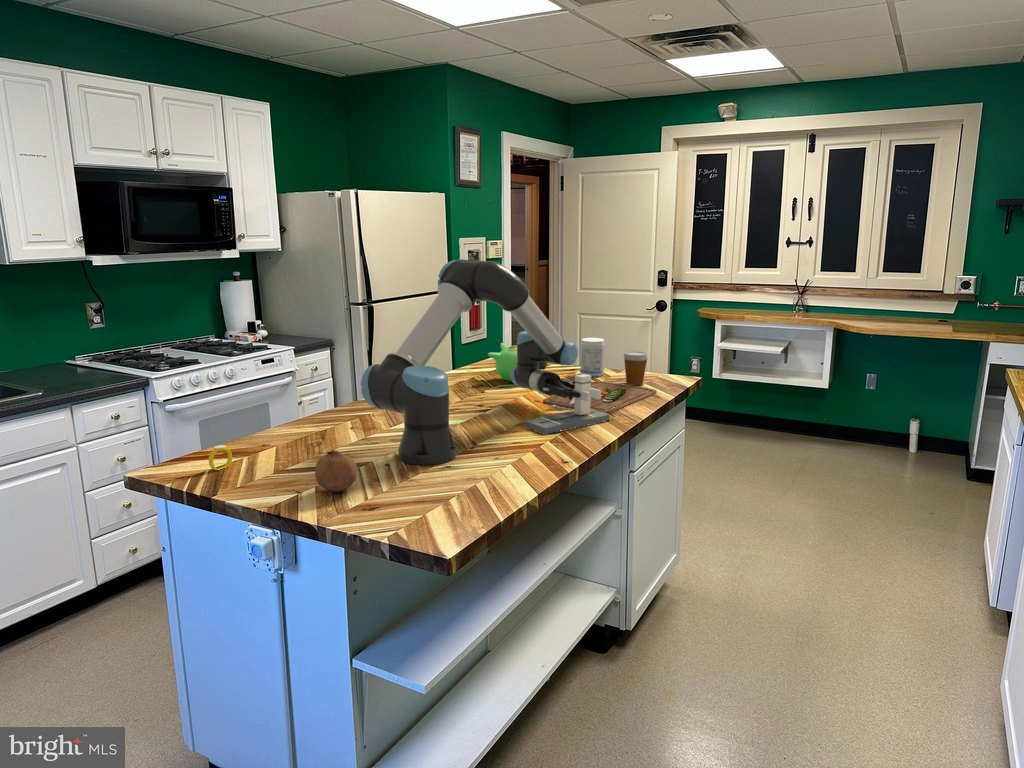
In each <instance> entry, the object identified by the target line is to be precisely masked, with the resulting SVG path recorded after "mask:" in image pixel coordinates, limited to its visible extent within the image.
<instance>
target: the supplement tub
mask: <svg viewBox="0 0 1024 768" xmlns="http://www.w3.org/2000/svg"><path fill="white" fill-rule="evenodd" d="M580 343H581V344H580V375H582V374H586V375H590V376H591V378H592V377H594V378H595V377H602V376H603V375H604V370H605V369H604V366H605V339H604V338H600V337H585V338H581V341H580Z"/></svg>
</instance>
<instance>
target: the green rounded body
mask: <svg viewBox="0 0 1024 768" xmlns="http://www.w3.org/2000/svg"><path fill="white" fill-rule="evenodd" d="M500 349H501V351H499V352H493V351H492V352H488V353H487V355H488V357H490V358H491V359H493V360H495V371H496V373H497V374H498V375H499V376H500V377H501V378H502V379H503V380H505V381H508V382H512V380H511V376H510V375H511V372H512V369H513V368H514V367H515V366H516V365H517V344H516V345H511V346H509V345H507V344H506V343H504V342H501V343H500Z"/></svg>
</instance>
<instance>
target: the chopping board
mask: <svg viewBox="0 0 1024 768" xmlns="http://www.w3.org/2000/svg"><path fill="white" fill-rule="evenodd" d="M591 388H593V389H597V390H601V399H596V398H592V397H591V400H590V409H592V410H596V411H599V412H604V413H605V412H606V413H608V412H609V413H610V412H614V411H616V410H618V411H620V410H619V409H621V408H623V409H625V408H627V407H629V406H632V405H634V404H636V403H638V402H641V401H643V400H645V399H648V398H650V397H651V396H654V395H657V391H658V390H656V389H654V388H649V387H644V386H640V385H628V384H627V383H626V384H624V383H617V382H607V381H591ZM574 399H575V398H574V397H573V399H572V400H569V397H568V396H567V397H566V398H564V397H560V396H556V395H552V396H549V397H545V398H543V400H542V403H543V404H545V405H548V406H549V408H554V407H556V408H555V409H559V408H562V409H561V410H565V409H568V410H567V411H571V410H574V409H572V408H574ZM633 403H634V404H633ZM549 404H550V405H549ZM631 404H632V405H631ZM628 405H629V406H628ZM560 406H562V407H560ZM616 406H617V407H616ZM626 406H627V407H626ZM566 407H569V408H566ZM613 407H615V408H613ZM624 407H625V408H624ZM611 408H613V409H611ZM609 409H610V410H609ZM621 410H622V409H621ZM616 412H617V411H616ZM614 413H615V412H614ZM610 414H611V413H610Z"/></svg>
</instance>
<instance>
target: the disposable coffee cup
mask: <svg viewBox="0 0 1024 768" xmlns="http://www.w3.org/2000/svg"><path fill="white" fill-rule="evenodd" d="M622 356H623V359H624V369H625V380H626V381H625V383H626V385H628V384H629V385H632V386H643V384H644V379H645V374H646V367H647V361H648V359H649V356H648V353H647V352H644V351H635V350H633V351H631V350H630V351H625V352H624V354H623V355H622Z"/></svg>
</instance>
